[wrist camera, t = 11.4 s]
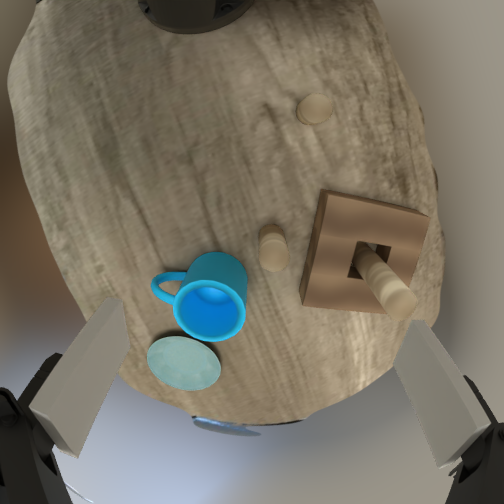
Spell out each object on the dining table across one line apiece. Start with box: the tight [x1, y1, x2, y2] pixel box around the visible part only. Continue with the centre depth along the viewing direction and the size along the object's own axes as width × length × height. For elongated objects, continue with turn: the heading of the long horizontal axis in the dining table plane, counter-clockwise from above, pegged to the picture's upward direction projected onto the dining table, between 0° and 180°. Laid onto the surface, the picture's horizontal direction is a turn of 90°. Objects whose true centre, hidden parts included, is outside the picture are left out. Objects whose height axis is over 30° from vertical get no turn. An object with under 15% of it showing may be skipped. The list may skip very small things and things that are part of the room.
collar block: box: [299, 189, 430, 314], centre depth 36 cm, size 14×14×4 cm
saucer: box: [147, 336, 221, 390], centre depth 44 cm, size 12×12×2 cm
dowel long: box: [352, 242, 417, 321], centre depth 31 cm, size 3×3×14 cm
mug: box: [151, 252, 248, 342], centre depth 36 cm, size 12×8×8 cm
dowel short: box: [296, 93, 333, 125], centre depth 29 cm, size 3×3×5 cm
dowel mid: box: [259, 224, 290, 272], centre depth 34 cm, size 3×3×7 cm
